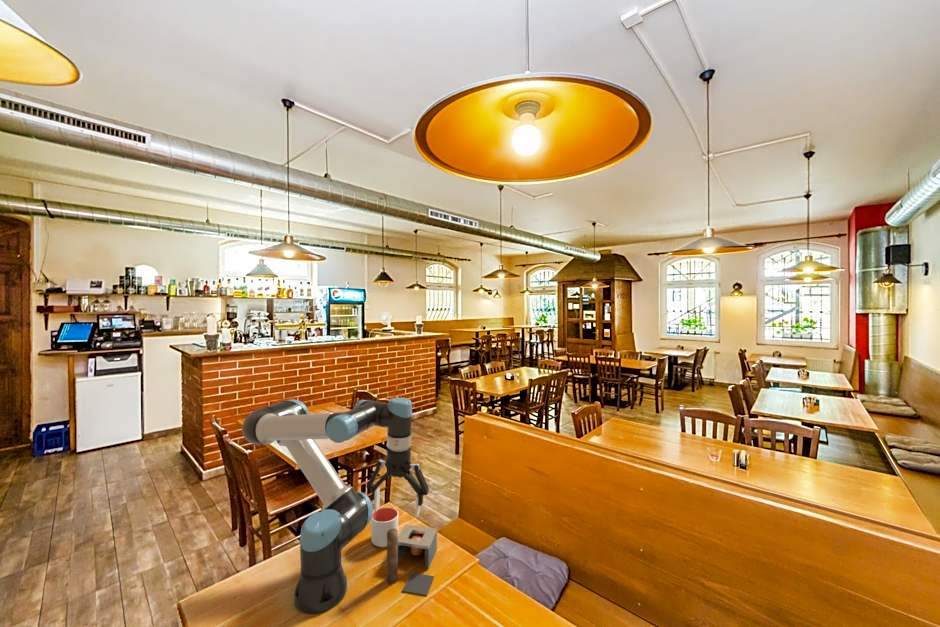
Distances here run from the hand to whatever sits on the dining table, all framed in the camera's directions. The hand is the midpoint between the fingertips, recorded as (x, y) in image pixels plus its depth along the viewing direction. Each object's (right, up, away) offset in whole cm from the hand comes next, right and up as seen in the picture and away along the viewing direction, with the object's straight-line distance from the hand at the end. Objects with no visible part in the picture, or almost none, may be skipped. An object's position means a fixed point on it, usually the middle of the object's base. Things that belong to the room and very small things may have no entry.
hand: (396, 512), depth 122 cm
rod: (-2, -23, +1) cm, 23 cm away
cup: (-9, -22, +21) cm, 31 cm away
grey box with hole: (+5, -22, +12) cm, 26 cm away
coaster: (+7, -23, -1) cm, 24 cm away
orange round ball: (+5, -20, +12) cm, 24 cm away
